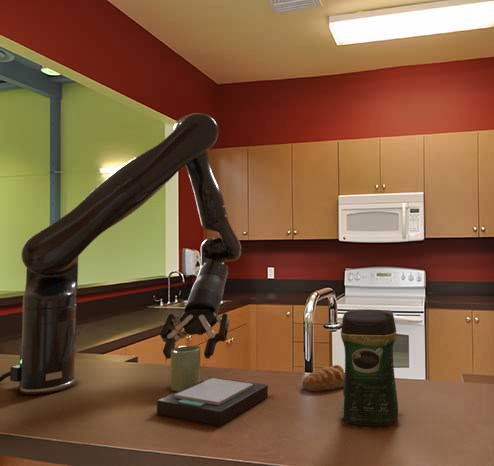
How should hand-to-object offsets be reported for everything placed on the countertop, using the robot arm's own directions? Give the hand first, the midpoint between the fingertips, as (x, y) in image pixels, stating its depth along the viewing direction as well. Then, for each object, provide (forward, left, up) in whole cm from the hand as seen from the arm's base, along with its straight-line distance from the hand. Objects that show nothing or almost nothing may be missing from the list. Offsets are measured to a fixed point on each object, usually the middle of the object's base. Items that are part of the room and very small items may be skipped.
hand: (186, 356), depth 87 cm
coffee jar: (+42, -2, -6) cm, 43 cm away
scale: (+13, -7, -6) cm, 16 cm away
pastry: (+28, +10, -6) cm, 31 cm away
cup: (0, -1, -6) cm, 6 cm away
